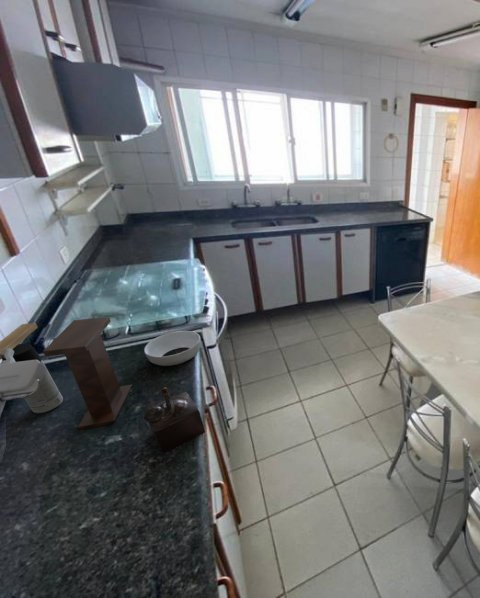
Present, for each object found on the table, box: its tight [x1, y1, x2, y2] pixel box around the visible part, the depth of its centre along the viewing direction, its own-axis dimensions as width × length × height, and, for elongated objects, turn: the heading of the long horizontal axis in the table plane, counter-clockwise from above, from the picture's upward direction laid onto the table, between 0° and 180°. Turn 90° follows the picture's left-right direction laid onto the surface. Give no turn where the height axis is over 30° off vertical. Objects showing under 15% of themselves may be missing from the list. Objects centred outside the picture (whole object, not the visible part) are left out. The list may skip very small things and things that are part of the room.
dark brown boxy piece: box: [143, 386, 206, 455], centre depth 84 cm, size 16×11×18 cm
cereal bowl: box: [143, 330, 202, 367], centre depth 119 cm, size 17×17×7 cm
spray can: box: [1, 342, 64, 414], centre depth 92 cm, size 7×7×20 cm
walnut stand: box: [42, 316, 133, 431], centre depth 92 cm, size 8×16×26 cm, turn 22°
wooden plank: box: [0, 322, 39, 361], centre depth 85 cm, size 3×20×2 cm, turn 22°
